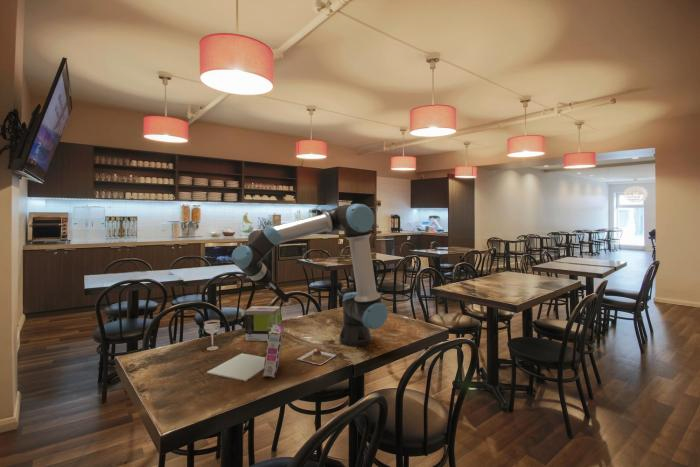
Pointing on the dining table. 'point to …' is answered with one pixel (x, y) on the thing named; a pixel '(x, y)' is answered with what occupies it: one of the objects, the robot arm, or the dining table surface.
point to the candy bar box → (273, 351)
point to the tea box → (261, 321)
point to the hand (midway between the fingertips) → (279, 294)
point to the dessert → (316, 356)
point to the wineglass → (212, 330)
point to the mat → (240, 367)
